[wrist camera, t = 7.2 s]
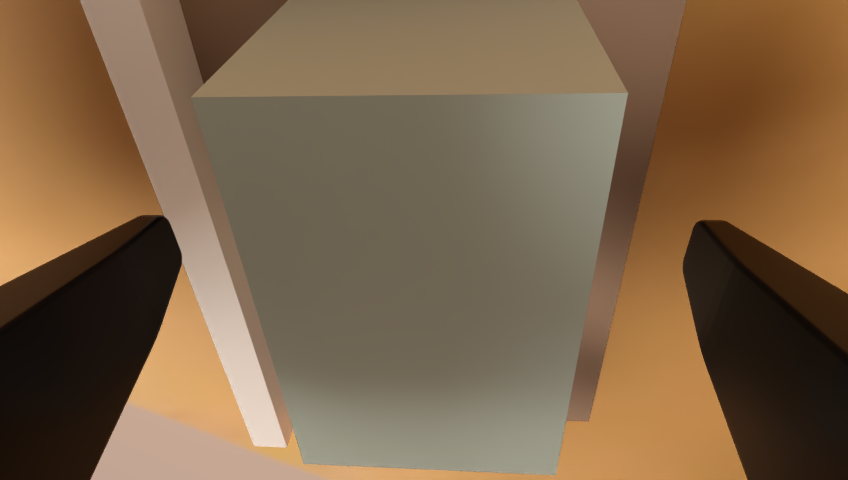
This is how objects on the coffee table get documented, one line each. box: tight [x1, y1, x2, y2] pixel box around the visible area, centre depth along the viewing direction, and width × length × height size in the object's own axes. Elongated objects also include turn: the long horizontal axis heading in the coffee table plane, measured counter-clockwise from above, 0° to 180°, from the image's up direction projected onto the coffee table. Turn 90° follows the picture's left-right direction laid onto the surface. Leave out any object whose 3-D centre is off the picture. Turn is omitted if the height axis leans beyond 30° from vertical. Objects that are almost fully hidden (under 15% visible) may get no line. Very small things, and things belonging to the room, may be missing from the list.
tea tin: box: [191, 0, 628, 475], centre depth 10 cm, size 5×7×5 cm, turn 2°
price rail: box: [80, 0, 293, 447], centre depth 12 cm, size 18×1×2 cm, turn 2°
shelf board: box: [179, 0, 686, 421], centre depth 12 cm, size 18×10×1 cm, turn 2°
